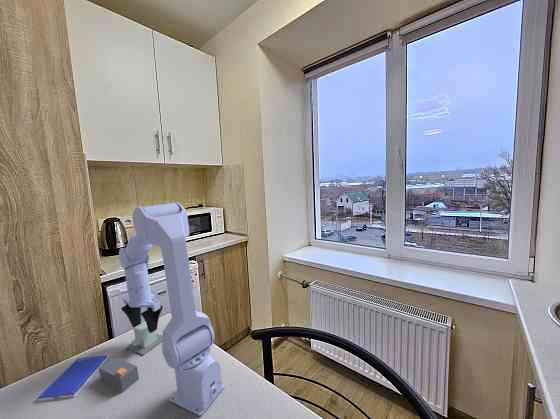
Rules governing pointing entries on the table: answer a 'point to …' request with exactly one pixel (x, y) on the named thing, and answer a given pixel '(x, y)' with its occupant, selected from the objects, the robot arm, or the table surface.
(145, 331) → the block
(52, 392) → the blue book
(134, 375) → the power strip
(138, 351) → the mat
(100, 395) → the table surface
